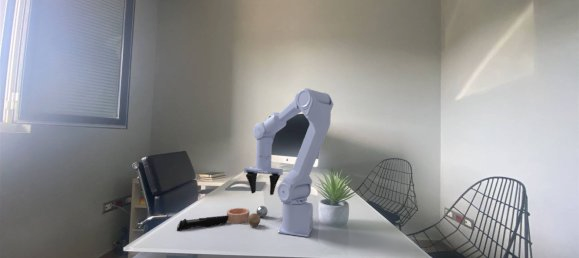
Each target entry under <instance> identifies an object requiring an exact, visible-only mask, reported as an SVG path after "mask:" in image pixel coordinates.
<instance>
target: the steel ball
mask: <svg viewBox="0 0 579 258" xmlns="http://www.w3.org/2000/svg"><path fill="white" fill-rule="evenodd" d="M256 214H258V215H259V216H260V218H264V217H266V216H267V215H268V208H267V206H264V205H260V206H258V207H257V209H256Z"/></svg>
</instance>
